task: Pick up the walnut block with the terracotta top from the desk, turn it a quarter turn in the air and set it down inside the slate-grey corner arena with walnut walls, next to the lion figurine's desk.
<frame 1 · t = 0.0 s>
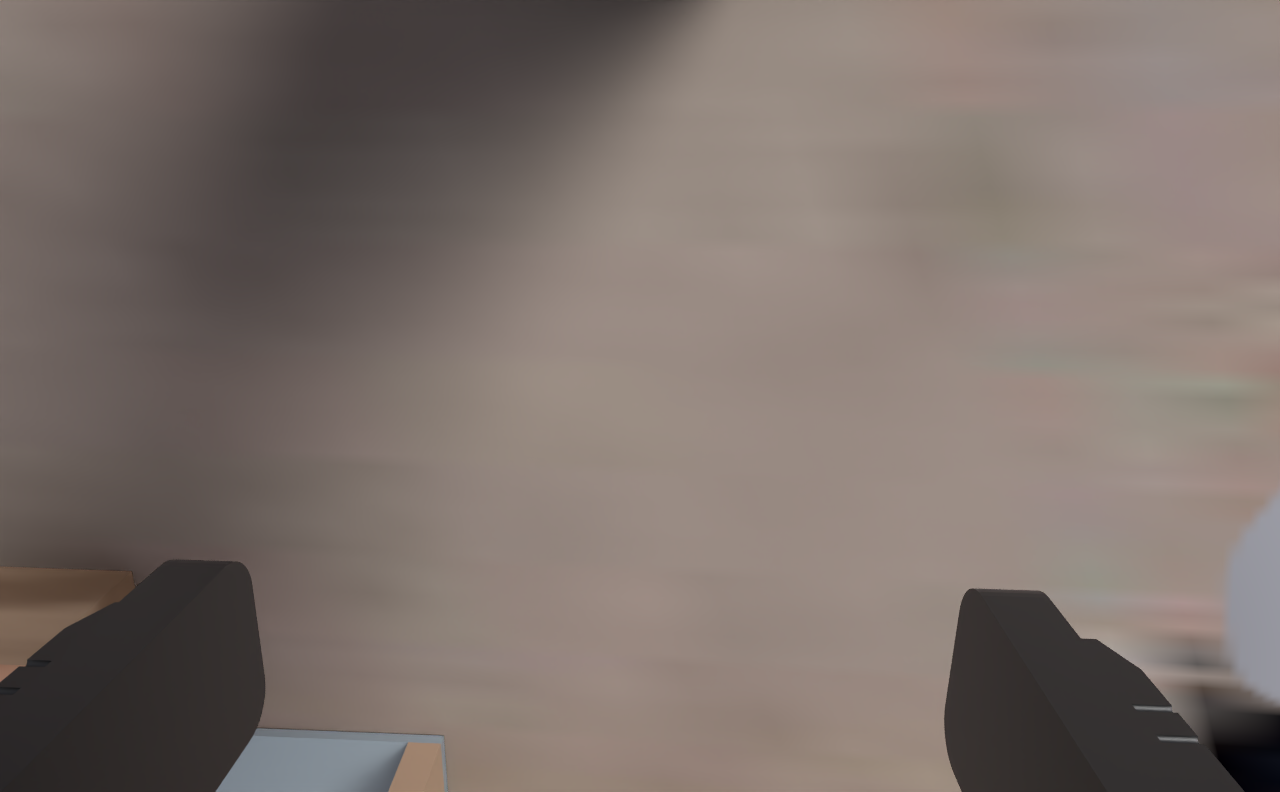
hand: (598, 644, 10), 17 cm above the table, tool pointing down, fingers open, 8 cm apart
block: (76, 629, 31), on the table
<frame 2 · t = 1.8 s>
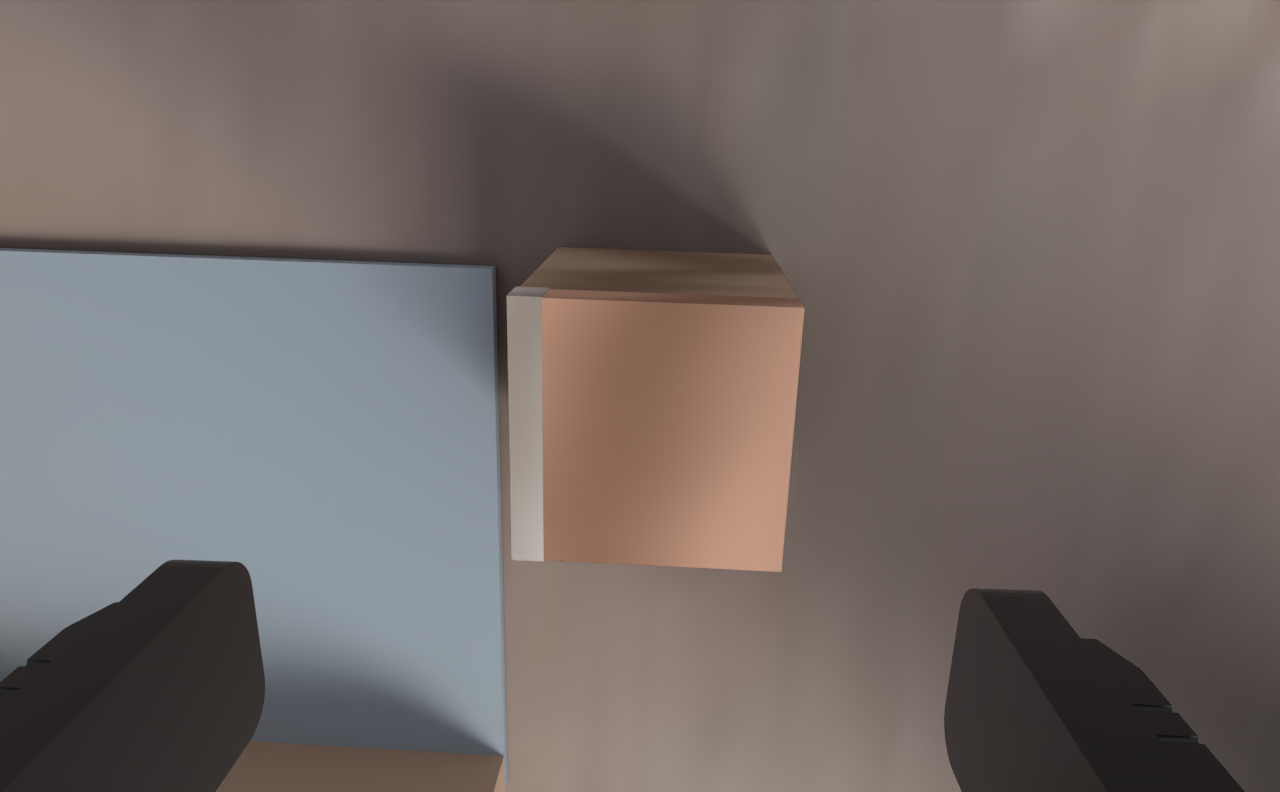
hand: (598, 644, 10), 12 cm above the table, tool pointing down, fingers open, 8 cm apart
arena: (205, 534, 23), on the table
block: (660, 353, 21), on the table
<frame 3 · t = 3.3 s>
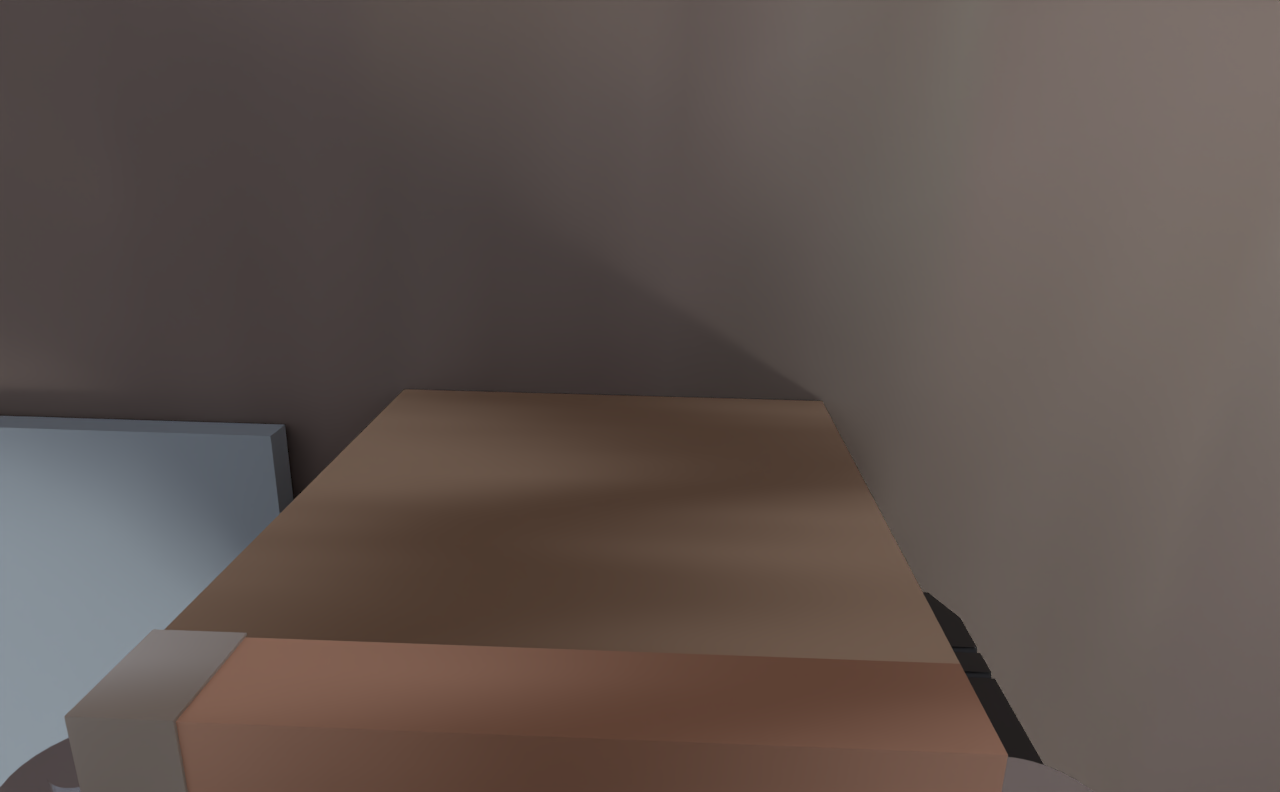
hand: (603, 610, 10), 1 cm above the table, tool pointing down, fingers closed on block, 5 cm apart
block: (610, 580, 11), on the table, touching gripper
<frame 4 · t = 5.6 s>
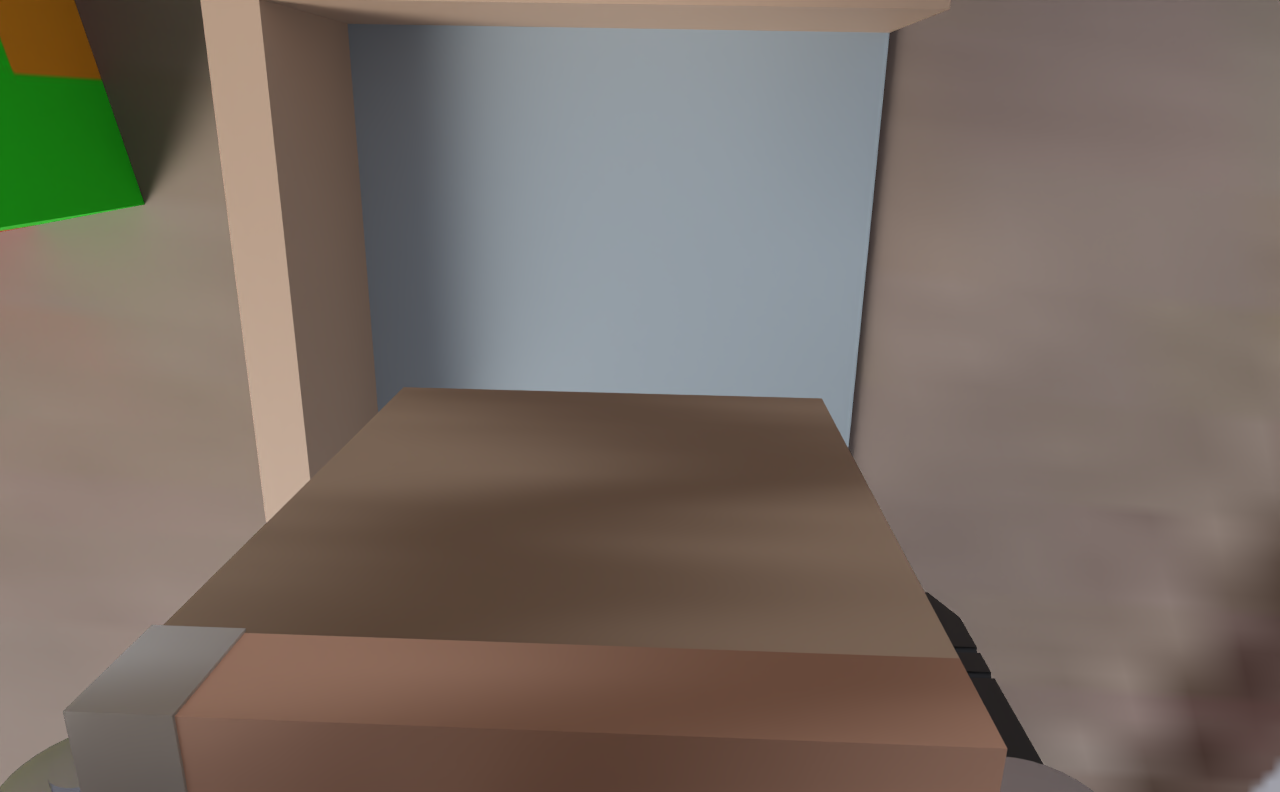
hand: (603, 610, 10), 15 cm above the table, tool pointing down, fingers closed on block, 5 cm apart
arena: (593, 289, 24), on the table
block: (609, 578, 11), point 14 cm above the table, touching gripper
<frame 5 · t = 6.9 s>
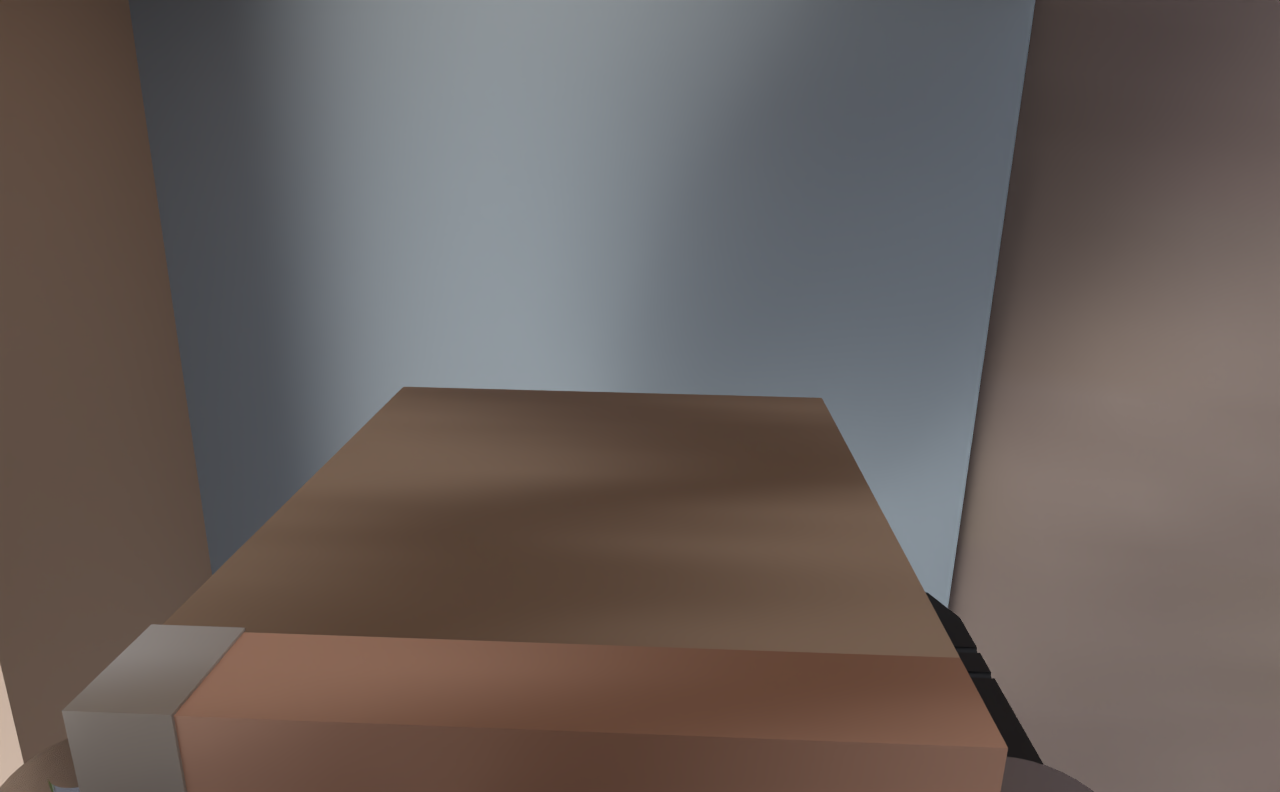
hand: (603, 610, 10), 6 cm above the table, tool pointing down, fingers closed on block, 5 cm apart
arena: (544, 400, 16), on the table
block: (609, 578, 11), point 5 cm above the table, touching gripper
when the fingers open (2 cm above the table, at t = 8.0 s): block stays where it is, resting on arena.
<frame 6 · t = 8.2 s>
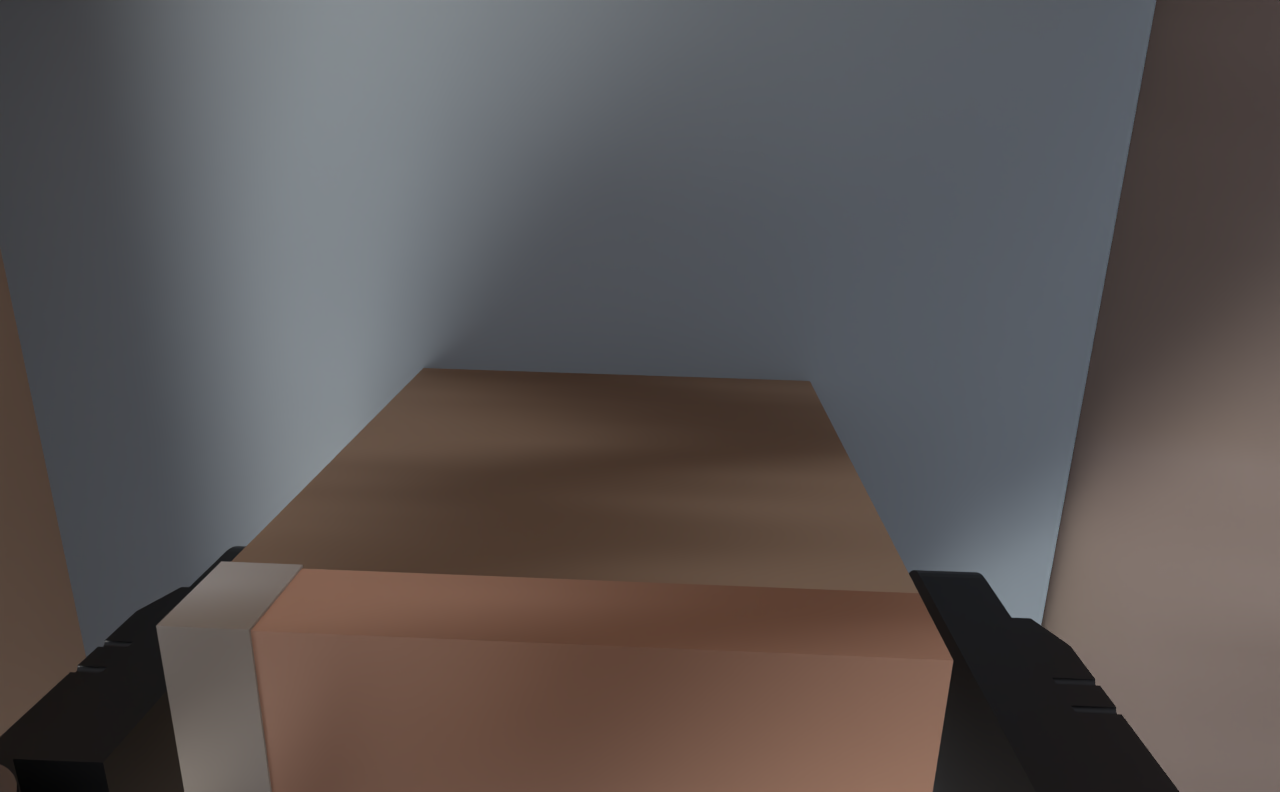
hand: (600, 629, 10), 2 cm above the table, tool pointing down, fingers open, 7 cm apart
arena: (507, 466, 12), on the table
block: (612, 547, 12), resting on arena
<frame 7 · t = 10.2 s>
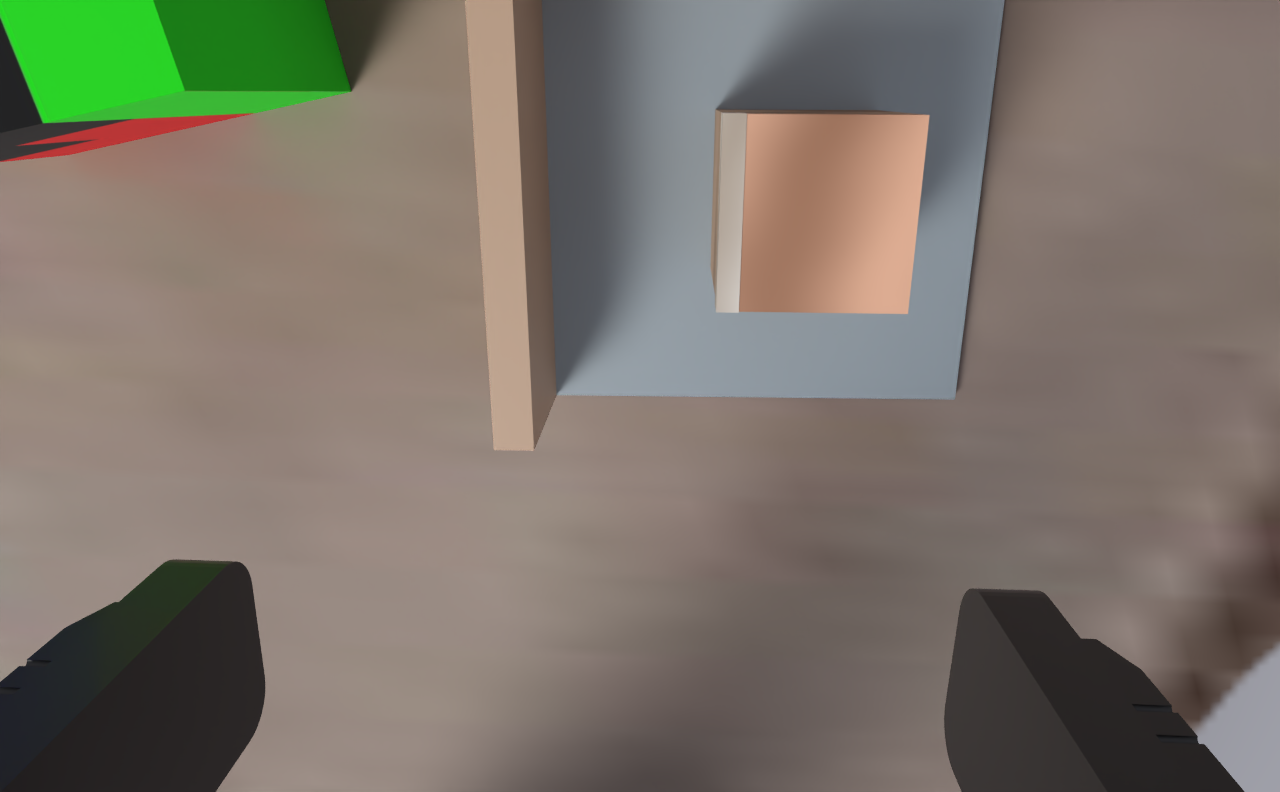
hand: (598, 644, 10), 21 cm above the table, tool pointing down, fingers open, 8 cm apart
arena: (744, 158, 28), on the table
block: (790, 191, 28), resting on arena
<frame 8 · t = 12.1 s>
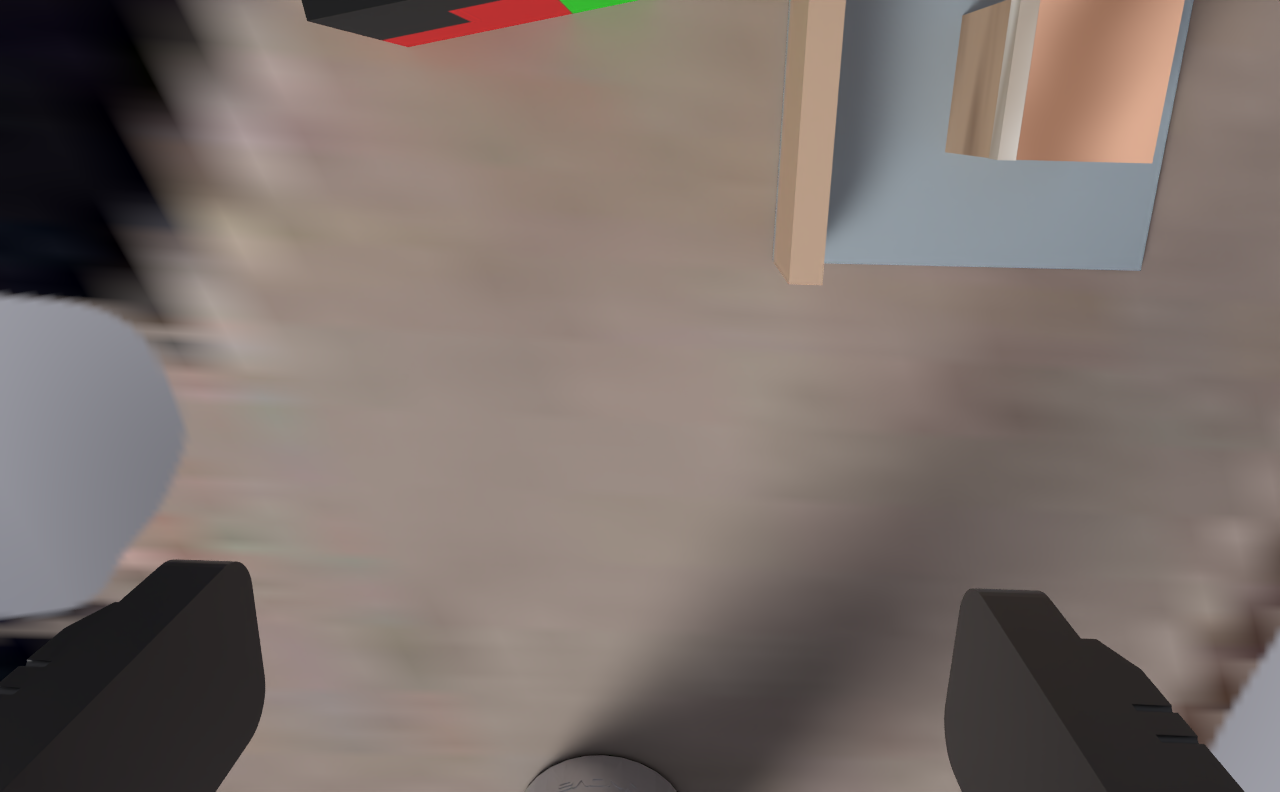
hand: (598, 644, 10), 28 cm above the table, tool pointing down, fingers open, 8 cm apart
arena: (979, 59, 34), on the table
block: (1018, 87, 34), resting on arena
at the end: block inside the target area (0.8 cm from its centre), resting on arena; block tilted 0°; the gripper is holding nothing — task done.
